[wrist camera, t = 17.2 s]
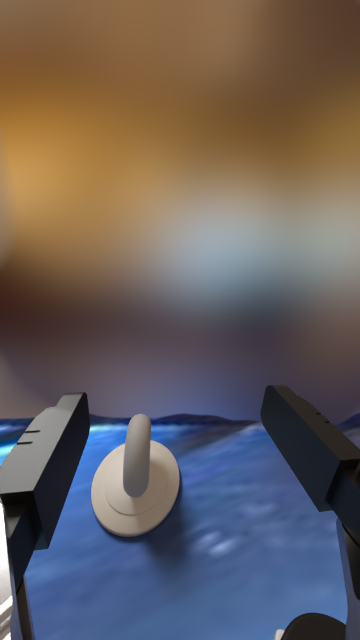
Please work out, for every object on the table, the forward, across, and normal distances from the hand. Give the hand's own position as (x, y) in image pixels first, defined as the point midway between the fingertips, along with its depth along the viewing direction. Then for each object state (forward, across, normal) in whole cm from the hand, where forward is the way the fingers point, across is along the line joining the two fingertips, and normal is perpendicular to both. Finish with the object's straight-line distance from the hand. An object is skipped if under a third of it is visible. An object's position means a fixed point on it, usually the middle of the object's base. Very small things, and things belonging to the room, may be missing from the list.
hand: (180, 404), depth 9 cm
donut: (+15, +3, +26) cm, 30 cm away
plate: (+15, +4, +27) cm, 31 cm away
